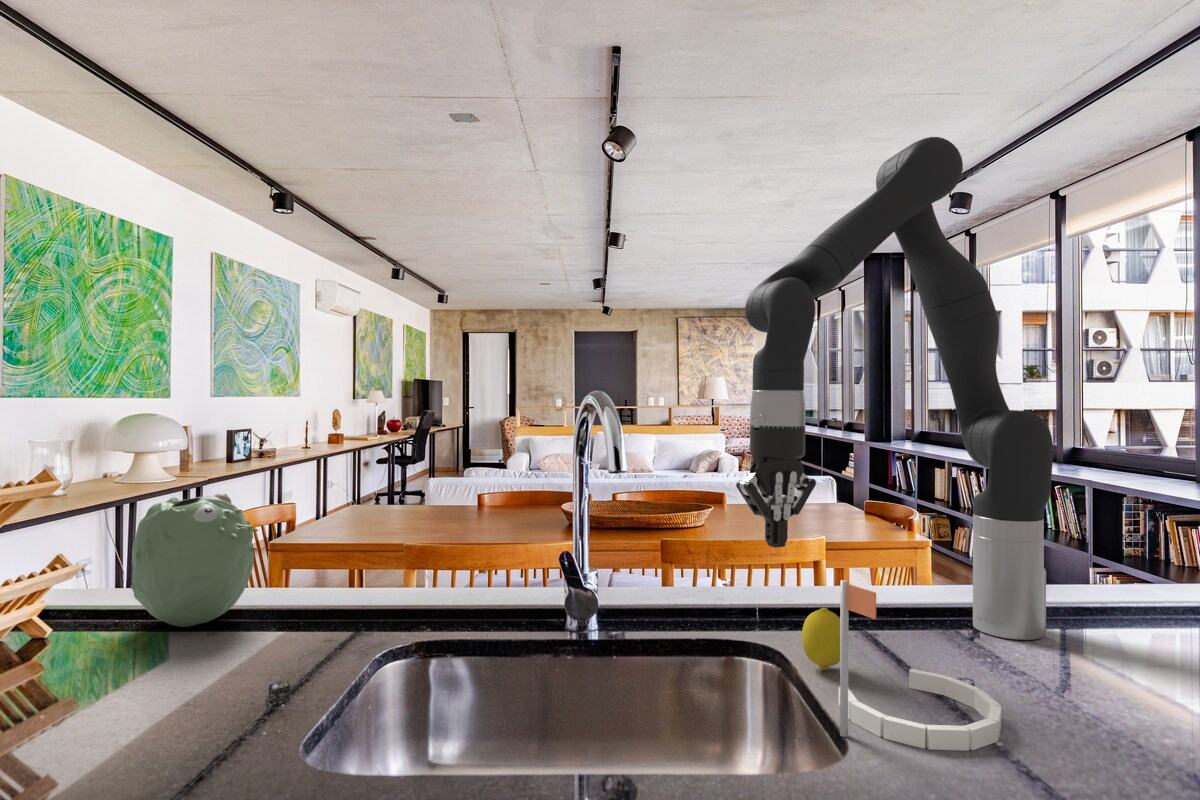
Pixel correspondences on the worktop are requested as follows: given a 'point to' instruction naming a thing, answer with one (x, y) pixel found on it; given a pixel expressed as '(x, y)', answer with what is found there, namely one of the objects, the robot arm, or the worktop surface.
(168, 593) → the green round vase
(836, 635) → the lemon
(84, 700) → the worktop surface
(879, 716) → the white arc
